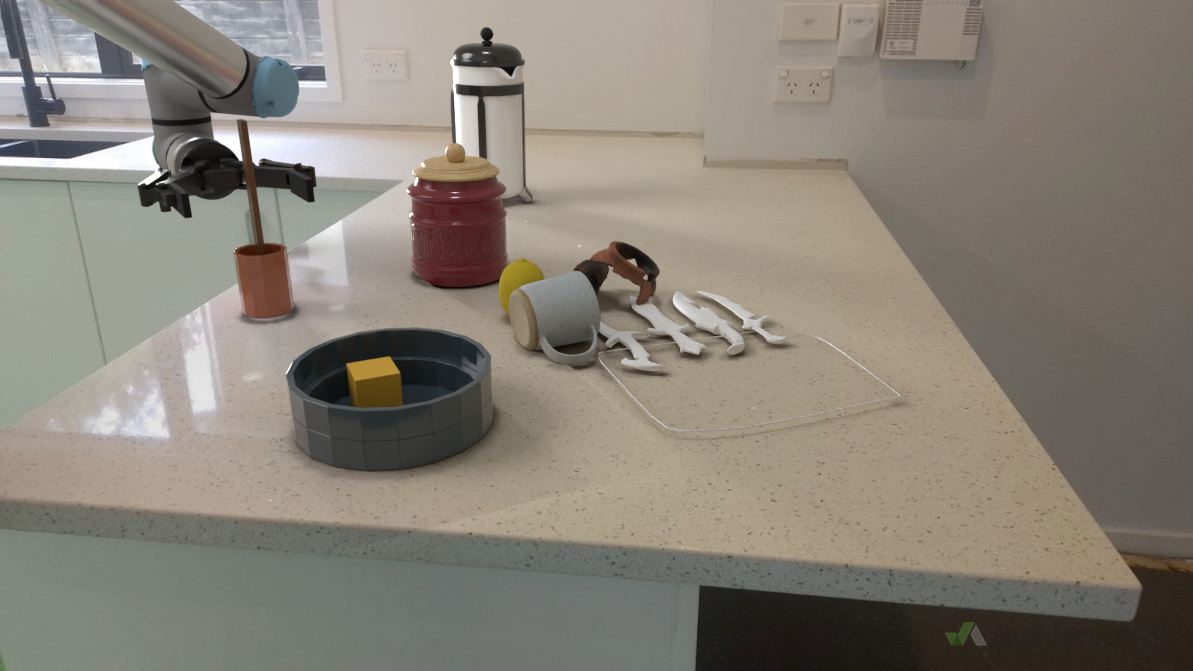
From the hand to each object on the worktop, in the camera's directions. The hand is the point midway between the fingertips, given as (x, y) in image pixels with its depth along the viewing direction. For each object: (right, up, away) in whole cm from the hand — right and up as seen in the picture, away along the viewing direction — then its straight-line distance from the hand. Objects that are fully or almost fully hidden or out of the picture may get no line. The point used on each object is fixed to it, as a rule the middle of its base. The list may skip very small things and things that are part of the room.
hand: (251, 198), depth 95 cm
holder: (0, -13, +5) cm, 14 cm away
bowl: (+21, -24, -20) cm, 38 cm away
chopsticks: (0, -12, +4) cm, 13 cm away
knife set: (+52, -17, -4) cm, 55 cm away
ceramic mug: (+36, -17, -4) cm, 40 cm away
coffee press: (+19, +9, +60) cm, 63 cm away
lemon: (+31, -14, +3) cm, 34 cm away
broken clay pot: (+41, -11, +10) cm, 44 cm away
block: (+19, -22, -18) cm, 34 cm away
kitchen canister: (+21, -7, +20) cm, 30 cm away
